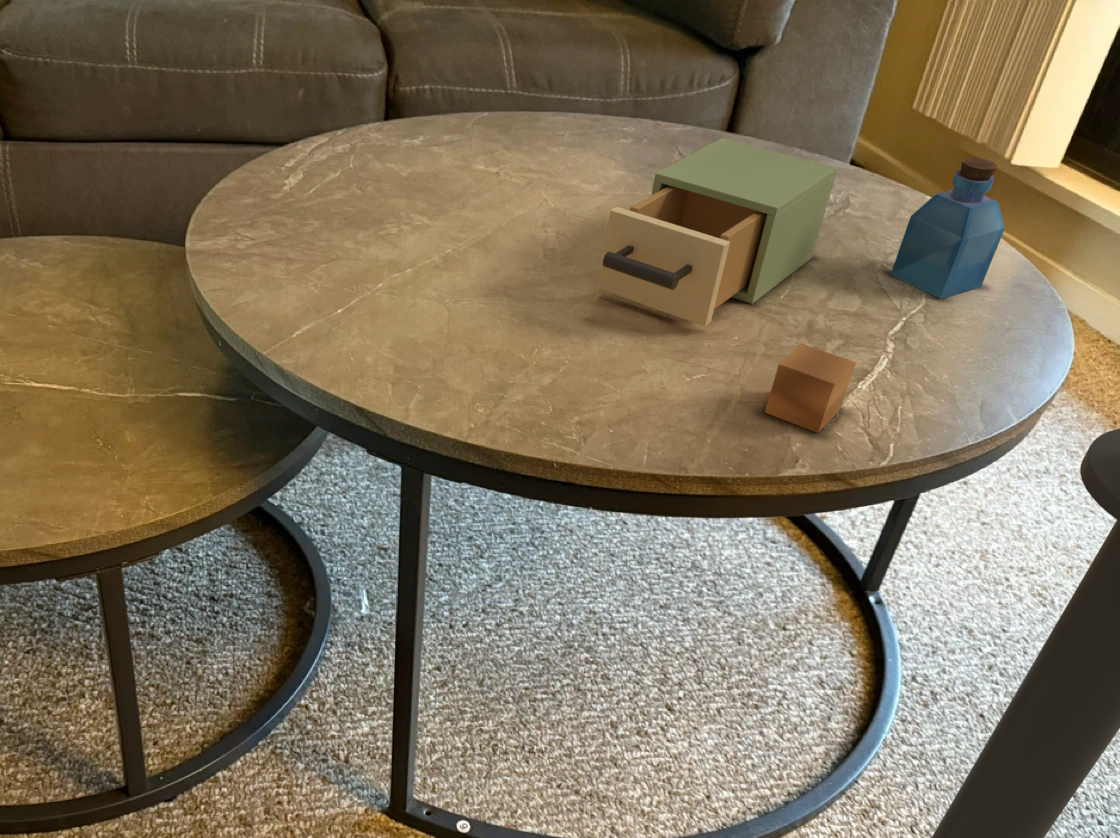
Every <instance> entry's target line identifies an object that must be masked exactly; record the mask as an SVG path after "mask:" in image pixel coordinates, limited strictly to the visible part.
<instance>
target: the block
mask: <svg viewBox="0 0 1120 838" xmlns="http://www.w3.org/2000/svg"><path fill="white" fill-rule="evenodd" d="M856 365H857V363H856V361H853V360H850V359H849V358H848V359H847V358H845V357H842V356H840V355H836V354H833V353H831V352H827V351H824V350H821V349H819V348H816V347H813V346H810V345H807V344H804V343H801V344H800V345H798V346H797V347H796V348H795V349H794V350H793V351H792V352H790V353H789V354H788V355H787V356H786V357H785V358H784V359H783V360H781V361H780V363H778V366H777V369H776V371H775V376H774V380H773V383H772V386H771V389H770V392H769V396H768V399H767V403H766V406H765V410H764V414H767V415H770V416H772V417H774V418H778V419H780V420H782V421H785V422H788V423H790V424H793V425H795V426H798V427H801V428H803V429H806V430H808V431H811V432H814V433H816V434H819V433H820V432H821V431H822V429H823V428H825V427H826V425H827V424H828V423H830V421H831V420H832V419H833V418H834V417H835V416H836V415H837V414H838V413H839V412H840V411H841V408H842V404H843V402H844V399H845V396H846V393H847V390H848V388H849V384H850V382H851V379H852V376H853V373H854V370H855V367H856Z"/></svg>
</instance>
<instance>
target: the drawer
mask: <svg viewBox="0 0 1120 838" xmlns="http://www.w3.org/2000/svg"><path fill="white" fill-rule="evenodd" d="M767 215H768V214H766V213H763V212H759V211H756V210H752V209H749V208H745V207H742V206H739V205H735V204H732V203H728V202H725V201H721V200H718V199H714V198H711V197H708V196H704V195H701V194H697V193H694V192H690V191H687V190H683V189H680V188H677V187H673V186H668V187H666V188H664V189H662V190H661V191H659V192H657V193H655V194H653V195H652V194H651V195H650V196H648V197H646V198H645V199H642V200H641V201H639V202H637V203H635V204H633V205H632V206H630V209H625V208H623V207H620V206H616V207H614V208H612V209H610V211H609V219H608V224H607V229H606V237H605V243H604V249H603V255H602V261H601V268H600V274H599V279H598V280H599V281H598V286H597V289H599V290H602V291H604V292H607V293H610V294H612V295H614V296H617V297H621V298H623V299H626V300H629V301H631V302H635V303H637V304H641V305H643V306H647V307H649V308H652V309H654V310H657V311H660V312H663V313H665V314H668V315H671V316H675V317H676V318H680V319H682V320H685V321H689V322H691V323H694V324H697V325H700V326H702V327H706V326H708V325H709V324H710V323H711V322H712V318H713V316H714V315H713V314H714V311H715V310H716V308H719V307H720V306H721V305H722V304H724V303H725V302H726V301H728V300H729V299H731V298H733V297H732V296H733V295H734V294H736V293H737V292H738V291H740V290H741V289H742V288H744V287H745V286H746V285H748V284H749V283H750V280H751V276H752V272H753V268H754V264H755V260H756V256H757V253H758V249H759V245H760V241H761V237H762V233H763V230H764V226H765V222H766V218H767Z"/></svg>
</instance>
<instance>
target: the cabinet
mask: <svg viewBox="0 0 1120 838" xmlns="http://www.w3.org/2000/svg"><path fill="white" fill-rule="evenodd" d="M838 169H839V167H837V166H833V165H829V164H826V163H821V162H818V161H814V160H810V159H806V158H803V157H798V156H794V155H791V154H786V153H783V152H779V151H775V150H771V149H767V148H764V147H759V146H757V145H756V146H755V145H752V144H748V143H745V142H740V141H736V140H733V139H729V138H725V137H722V138H719V139H718V140H715V141H714V142H712V143H710V144H708V145H706V146H704V147H702V148H701V149H698V150H697V151H695V152H693V153H691V154H689V155H687V156H686V157H684V158H682V159H680V160H678V161H675V162H673V163H672V164H671V165H668V166H666V167H665V168H663V169H661V170H659V171H657V172H655V174H654V178H653V185H652V190H651V195H653V194H655V193H657V192H659V191H661V190H662V189H664V188H666V187H668V186H673V187H677V188H680V189H683V190H687V191H690V192H694V193H697V194H701V195H704V196H708V197H711V198H714V199H718V200H721V201H725V202H728V203H732V204H735V205H739V206H742V207H745V208H749V209H752V210H756V211H759V212H763V213H766V214H768V215H767V218H766V222H765V226H764V230H763V233H762V237H761V241H760V245H759V249H758V253H757V256H756V260H755V264H754V268H753V272H752V276H751V280H750V283H749V284H748V285H746V286H745V287H744V288H742V289H741V290H740V291H738V292H737V293H736V294H734V295H733V296H732V297H731V298H732V299H736V300H739V301H742V302H745V303H748V304H751V305H753V304H754V303H756V302H757V301H758V300H760V299H761V298H762V297H763V296H764V295H766V294H767V293H768V292H770V291H771V290H773V289H774V288H775V287H776V286H777V285H779V284H780V283H781V282H783V281H784V280H785V279H786V278H788V277H789V276H790V275H792V274H793V273H794V272H795V271H797V270H798V269H799V268H801V267H802V266H803V265H805V264H806V263H807V262H808V261H809V260H811V259H812V258H813V254H814V251H815V248H816V244H817V241H818V237H819V234H820V230H821V228H822V224H823V220H824V217H825V213H826V210H827V207H828V203H829V200H830V197H831V193H832V189H833V186H834V183H835V179H836V176H837V173H838Z"/></svg>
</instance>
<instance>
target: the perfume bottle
mask: <svg viewBox="0 0 1120 838" xmlns="http://www.w3.org/2000/svg"><path fill="white" fill-rule="evenodd" d="M997 168H998V164H997V163H996V162H994V161H992V160H989V159H986V158H981V157H965V158H962V159H961V164H960V169H959V170H957V171H956V172H955V173H954V176H953V179H952V181H951V183H952V185H953V188H952V189H951V190H946V191H941V192H937V193H935V194H934V195H933V196H932V197H931V198H929V199H928V200H927V201H926V202H925V203H923V205H921V206H920V207H919V208H918V209H917V210H916V211H915V212H914V213H912V214H911V215H910V216H909V220H908V223H907V225H906V229H905V231H904V233H903V237H902V240H901V242H900V246H899V248H898V252H897V254H896V257H895V261H894V263H893V267H892V268H891V271H890V275H891V276H893V277H895V278H897V279H899V280H901V281H903V282H905V283H907V284H909V285H911V286H913V287H915V288H918V289H919V290H921V291H924V292H926V293H928V294H929V295H932V296H934V297H935V298H938V299H940V300H942V299H945V298H949V297H952V296H955V295H959V294H962V293H966V292H969V291H972V290H973V291H974V290H975V289H980V288H981V287H982V286H983V284H984V281H985V278H986V277H987V274H988V271H989V269H990V266H991V264H992V261H993V259H994V256H995V254H996V251H997V249H998V246H999V244H1000V241H1001V240H1002V237H1003V235H1004V232H1005V229H1006V226H1005V223H1004V220H1003V219H1004V218H1003V215H1002V211H1001V208H1000V204H999V201H998V200H995V199H993V198H991V197H988V196H986V193H987V192H990V191H991V189H992V187H993V184H994V181H995V178H994V177H993V174H994V173H995V171H996V170H997Z"/></svg>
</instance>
